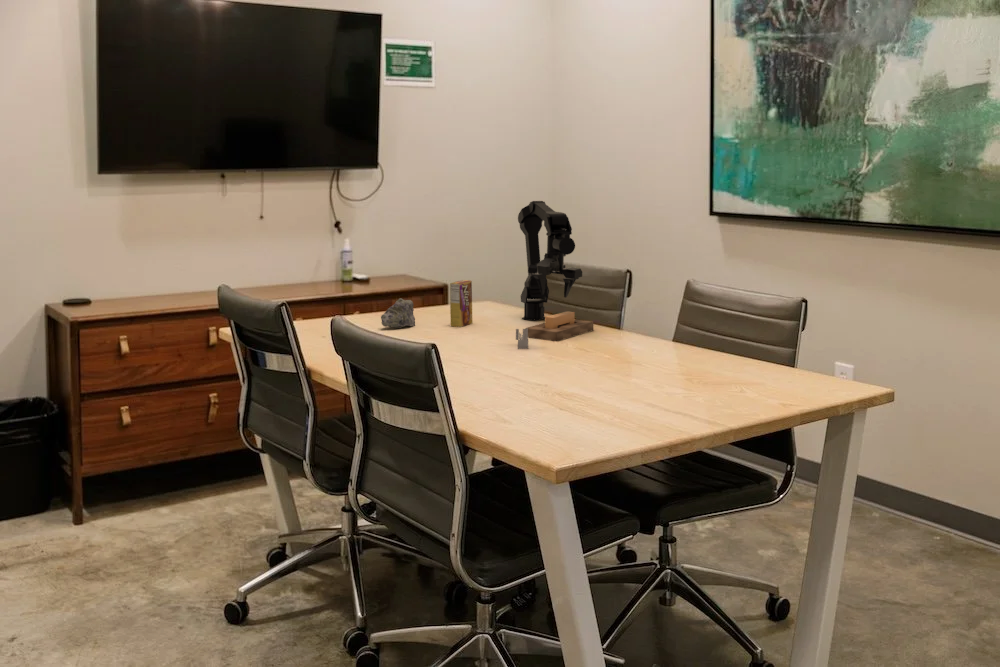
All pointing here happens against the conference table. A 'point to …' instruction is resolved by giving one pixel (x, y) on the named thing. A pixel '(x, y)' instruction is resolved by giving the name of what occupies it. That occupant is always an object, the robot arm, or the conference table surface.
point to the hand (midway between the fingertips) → (554, 295)
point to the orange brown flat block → (559, 319)
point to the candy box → (461, 303)
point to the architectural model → (522, 339)
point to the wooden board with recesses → (560, 330)
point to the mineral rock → (399, 314)
